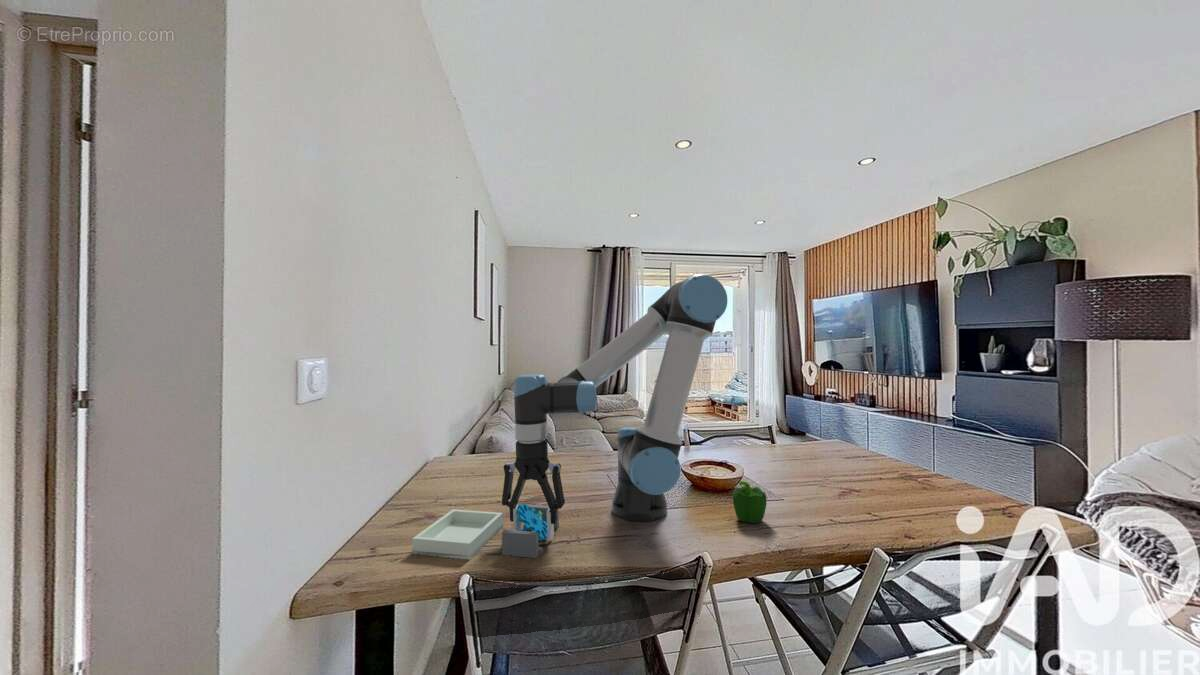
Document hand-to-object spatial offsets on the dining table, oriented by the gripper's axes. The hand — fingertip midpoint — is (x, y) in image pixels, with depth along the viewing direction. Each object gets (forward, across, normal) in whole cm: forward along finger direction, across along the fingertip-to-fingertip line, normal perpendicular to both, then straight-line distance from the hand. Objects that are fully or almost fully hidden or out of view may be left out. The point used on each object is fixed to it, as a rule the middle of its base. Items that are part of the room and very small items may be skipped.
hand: (533, 535), depth 104 cm
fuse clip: (+1, 0, 0) cm, 1 cm away
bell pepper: (+2, -52, -21) cm, 56 cm away
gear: (0, 0, 0) cm, 0 cm away
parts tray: (+1, +17, +3) cm, 18 cm away
